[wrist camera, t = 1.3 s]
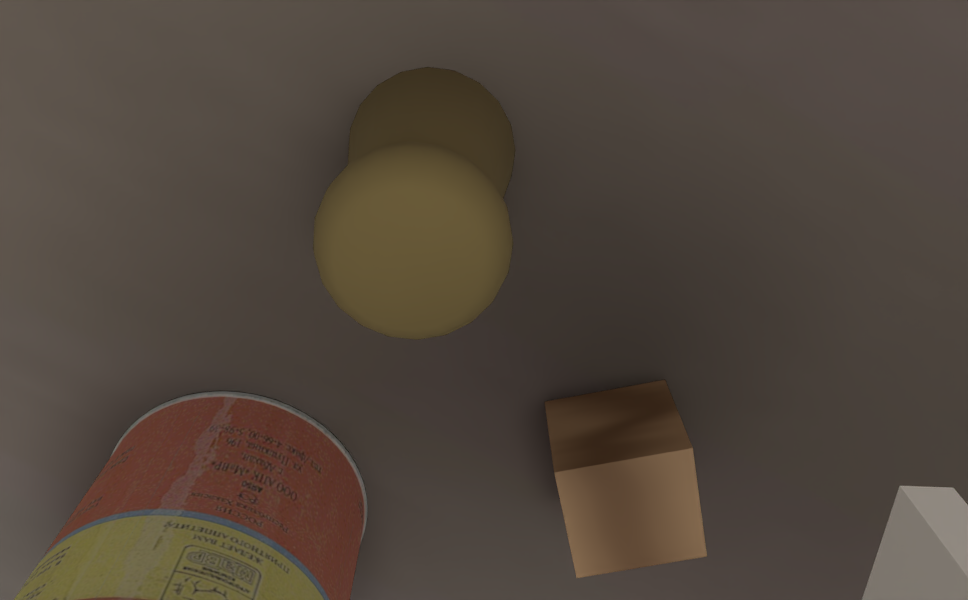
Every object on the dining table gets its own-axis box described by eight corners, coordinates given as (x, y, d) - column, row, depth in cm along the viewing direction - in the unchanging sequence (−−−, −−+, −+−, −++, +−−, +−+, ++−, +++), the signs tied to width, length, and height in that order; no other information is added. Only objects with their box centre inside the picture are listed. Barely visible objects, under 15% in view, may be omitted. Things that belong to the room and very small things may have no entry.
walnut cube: (664, 378, 35) (692, 447, 30) (678, 477, 37) (707, 556, 32) (544, 400, 35) (554, 472, 31) (564, 497, 37) (576, 578, 33)
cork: (482, 42, 29) (484, 108, 19) (537, 201, 32) (563, 334, 22) (321, 101, 30) (242, 194, 20) (385, 252, 32) (343, 403, 22)
